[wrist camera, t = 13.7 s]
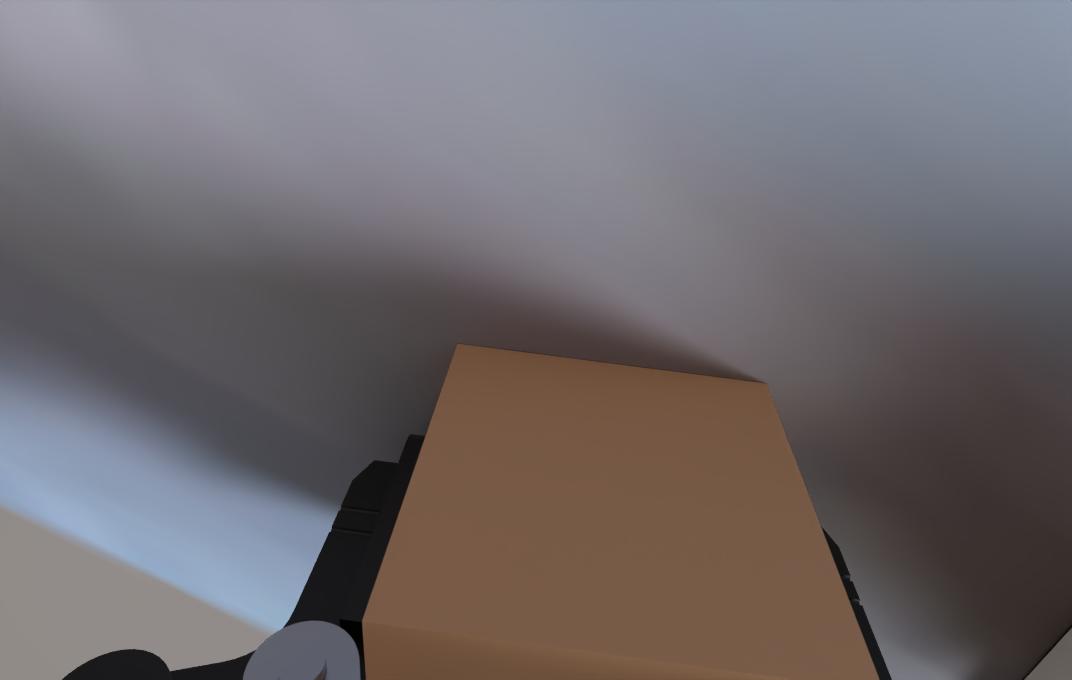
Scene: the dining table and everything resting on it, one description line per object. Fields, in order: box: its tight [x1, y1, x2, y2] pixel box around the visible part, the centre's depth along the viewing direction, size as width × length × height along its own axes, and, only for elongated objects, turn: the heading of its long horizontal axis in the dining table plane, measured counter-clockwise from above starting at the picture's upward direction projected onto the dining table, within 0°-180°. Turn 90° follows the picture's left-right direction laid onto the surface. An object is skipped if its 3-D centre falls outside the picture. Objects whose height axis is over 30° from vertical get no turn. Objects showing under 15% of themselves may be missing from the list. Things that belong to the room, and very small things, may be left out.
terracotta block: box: [362, 344, 879, 680], centre depth 10 cm, size 5×5×5 cm
